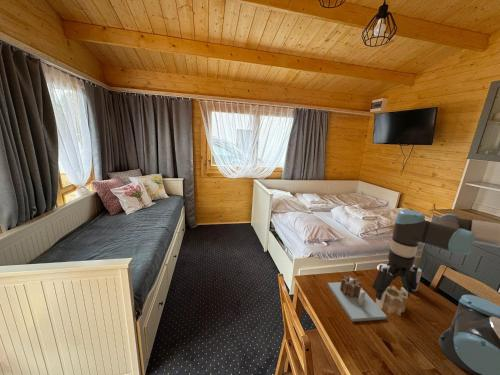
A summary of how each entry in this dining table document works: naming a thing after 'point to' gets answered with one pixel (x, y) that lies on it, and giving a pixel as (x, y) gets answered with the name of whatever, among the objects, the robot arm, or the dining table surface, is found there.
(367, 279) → the dining table surface
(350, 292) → the walnut gear
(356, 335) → the dining table surface
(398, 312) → the beech gear
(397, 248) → the robot arm
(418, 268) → the energy drink
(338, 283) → the gear board
